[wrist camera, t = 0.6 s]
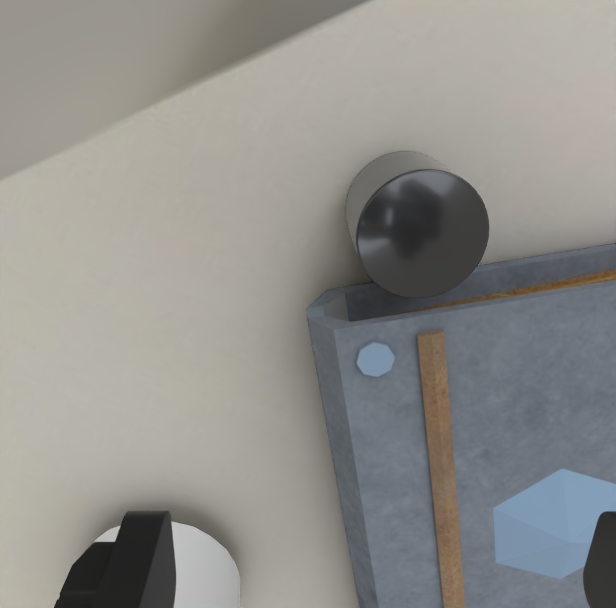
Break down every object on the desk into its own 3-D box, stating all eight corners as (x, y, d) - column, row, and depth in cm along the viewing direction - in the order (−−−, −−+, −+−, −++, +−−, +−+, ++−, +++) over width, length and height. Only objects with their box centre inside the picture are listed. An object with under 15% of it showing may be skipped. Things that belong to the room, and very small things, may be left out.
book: (305, 289, 24) (308, 345, 19) (711, 223, 23) (816, 265, 18) (367, 636, 32) (379, 733, 27) (667, 594, 31) (732, 687, 27)
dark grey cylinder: (328, 176, 22) (336, 200, 18) (439, 132, 21) (470, 147, 18) (366, 277, 23) (380, 317, 20) (469, 238, 23) (503, 272, 19)
